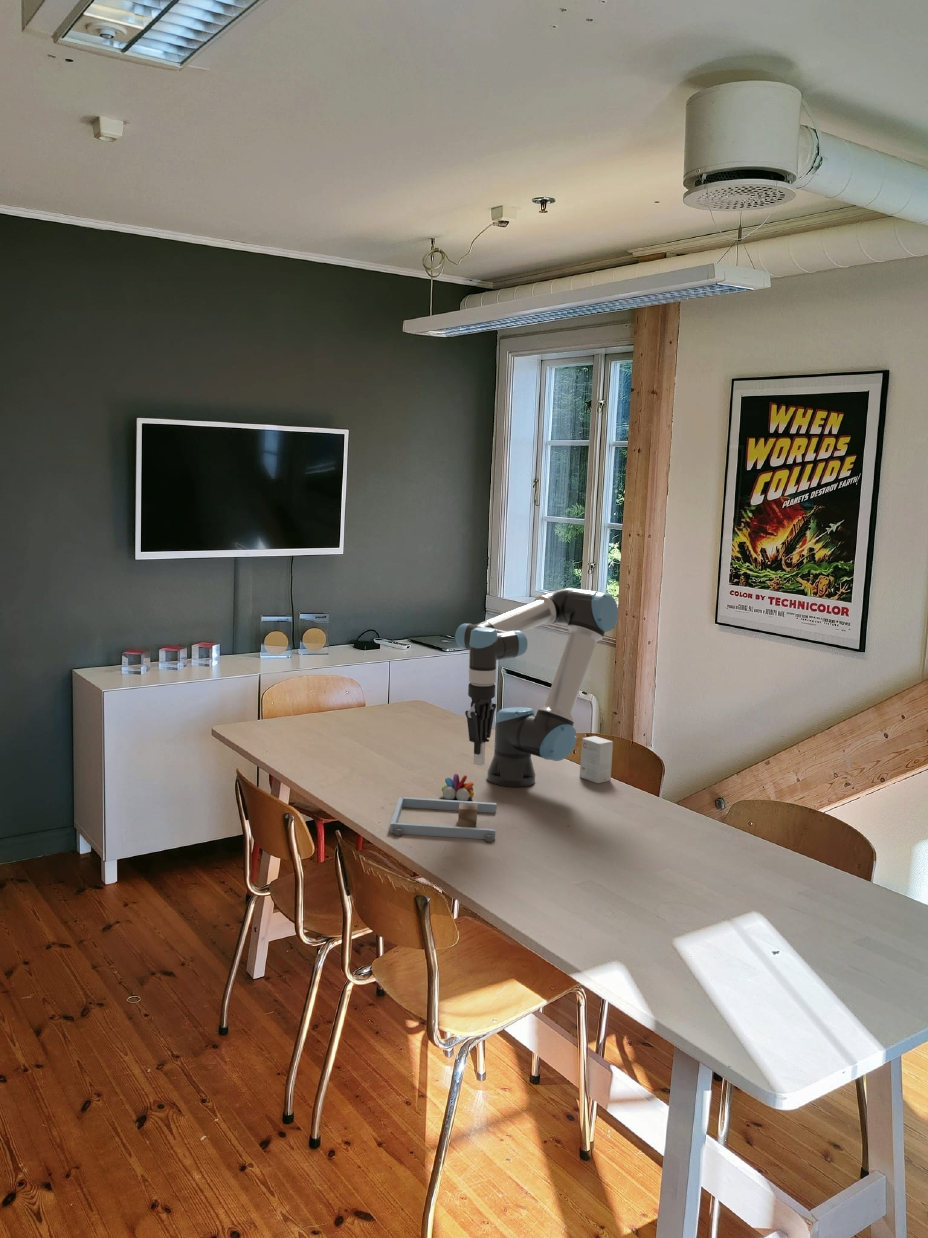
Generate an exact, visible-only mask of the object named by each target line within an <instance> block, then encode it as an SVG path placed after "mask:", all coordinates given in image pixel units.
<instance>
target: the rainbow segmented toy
mask: <svg viewBox="0 0 928 1238" xmlns="http://www.w3.org/2000/svg"><path fill="white" fill-rule="evenodd" d="M467 778H468V776H467V775H466V774H465V775H463V777H462V778H461V780H460V776H459V774H458V773H455V774H454V775H453V778H451V777H445V780H444V781H445V785H443V786H442V787H441V792H442V797H443V798H444V800H454V799H455V798H456V799H457V801H468V800H469V798H472V797H474V796H475V792H474V785H475V783H474V782H472V781H471V782H470V781H469V782H466V780H467Z"/></svg>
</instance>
